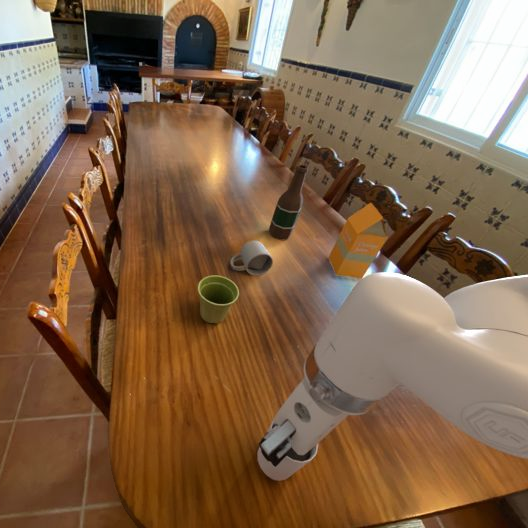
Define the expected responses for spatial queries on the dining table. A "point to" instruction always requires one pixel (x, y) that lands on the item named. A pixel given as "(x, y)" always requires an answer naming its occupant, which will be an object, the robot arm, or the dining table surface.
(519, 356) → the robot arm
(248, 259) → the ceramic mug
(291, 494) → the dining table surface
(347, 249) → the orange juice
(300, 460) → the white cup
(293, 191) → the beer bottle
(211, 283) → the plant pot
